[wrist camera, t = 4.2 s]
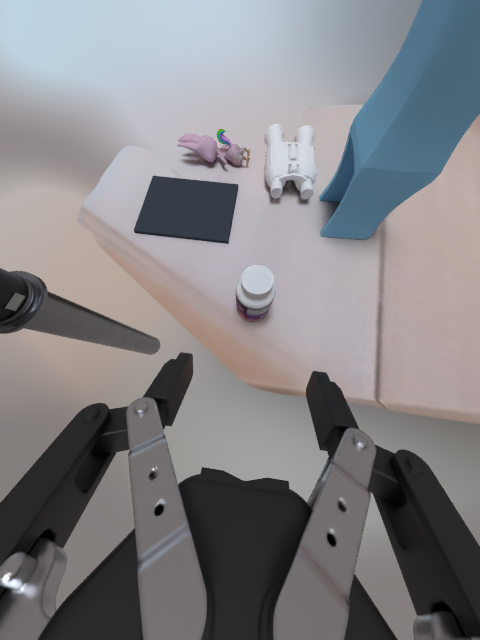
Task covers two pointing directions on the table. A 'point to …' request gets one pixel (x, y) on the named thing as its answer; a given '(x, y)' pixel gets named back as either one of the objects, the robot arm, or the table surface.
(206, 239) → the mat
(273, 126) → the binoculars
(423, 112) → the vase
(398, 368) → the table surface
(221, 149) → the pink figurine
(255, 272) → the pill bottle
